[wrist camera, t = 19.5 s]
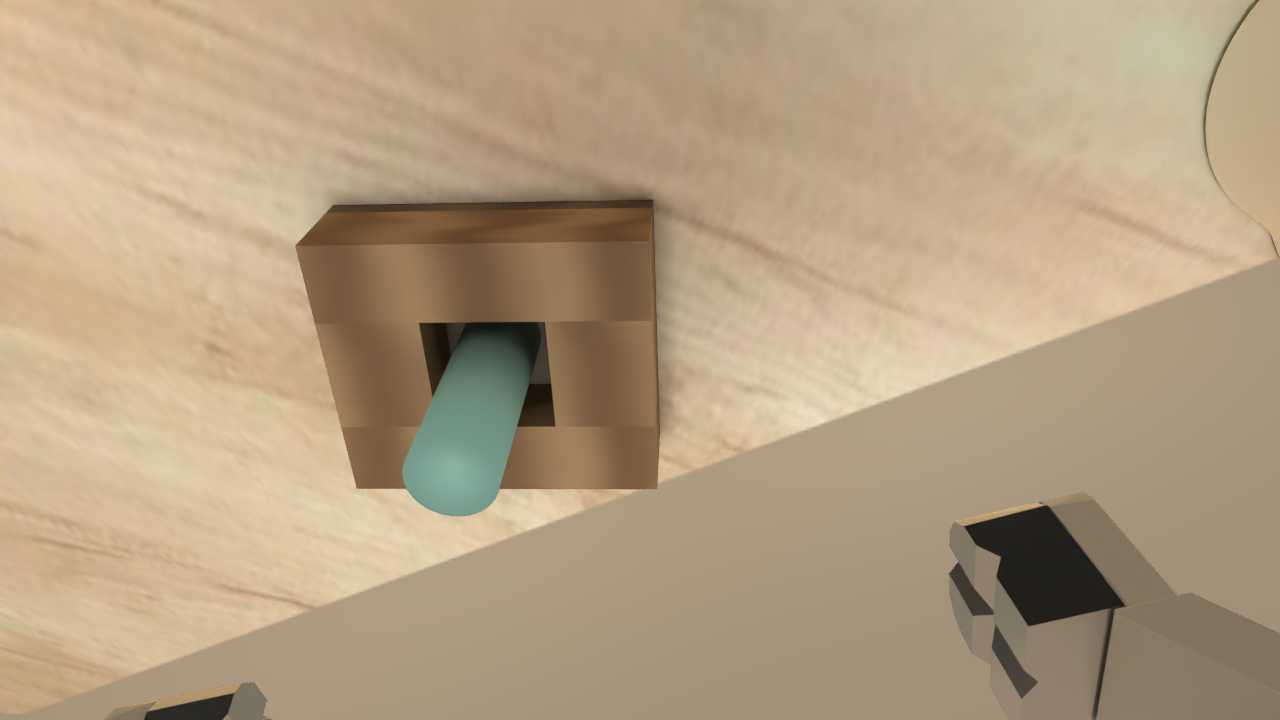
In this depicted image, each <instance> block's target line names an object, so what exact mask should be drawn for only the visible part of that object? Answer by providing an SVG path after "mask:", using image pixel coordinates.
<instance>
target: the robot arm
mask: <svg viewBox="0 0 1280 720" xmlns="http://www.w3.org/2000/svg"><path fill="white" fill-rule="evenodd" d="M1205 133H1206V145H1207V152H1208V157H1209V161H1210V164H1211V167H1212V170H1213V173H1214V175H1215V177H1216V179H1217V181H1218V183H1219V185H1220V186H1221V188H1222V190H1223V191H1224V192H1225V194H1226V195H1227V196H1228V198H1229V199H1230V200H1231V201H1232V202H1233V203H1234V204H1235V205H1236V206H1237V207H1238V208H1239V209H1241V210H1242V211H1243V212H1244V213H1246V214H1247V215H1249V216H1250V217H1251V218H1253V219H1254V220H1255V221H1257V222H1258V223H1260V224H1261V225H1262V226H1263V227H1264V228H1265V229H1266V230H1267V231H1268V232H1269V233H1270V234H1271V236H1272V239H1273V242H1274V244H1275V247H1276V250H1277V252H1278V255H1279V257H1280V0H1259V1H1258V3H1257V4H1256V5H1255V6H1254V8H1253V9H1252V10H1251V11H1250V13H1249V14H1248V16H1247V17H1246V18H1245V20H1244V21H1243V23H1242V24H1241V26H1240V27H1239V29H1238V31H1237V32H1236V34H1235V35H1234V37H1233V39H1232V41H1231V42H1230V44H1229V46H1228V48H1227V50H1226V52H1225V54H1224V56H1223V58H1222V60H1221V63H1220V65H1219V68H1218V70H1217V73H1216V75H1215V79H1214V82H1213V85H1212V88H1211V92H1210V96H1209V101H1208V107H1207V114H1206V132H1205ZM949 546H950V548H951V550H952V552H953V553H954V555H955V557H956V558H957V560H958V563H957V564H956V565H955V567H954V568H953V569H952V570H951V572H950V573H949V594H950V599H951V603H952V607H953V611H954V616H955V619H956V621H957V624H958V626H959V629H960V631H961V634H962V636H963V638H964V640H965V641H966V643H967V645H968V647H969V649H970V651H971V653H972V654H974V655H975V656H977V657H979V658H981V659H982V660H984V661H986V662H988V663H989V664H991V672H990V687H991V689H992V691H993V692H994V694H995V696H996V698H997V700H998V701H999V703H1000V705H1001V707H1002V709H1003V710H1004V712H1005V714H1006V715H1007V717H1008V719H1009V720H1280V633H1279V632H1276V631H1274V630H1272V629H1270V628H1268V627H1265V626H1263V625H1261V624H1259V623H1257V622H1255V621H1252V620H1250V619H1248V618H1245V617H1244V616H1241V615H1239V614H1237V613H1235V612H1232V611H1230V610H1228V609H1226V608H1224V607H1222V606H1219V605H1217V604H1215V603H1213V602H1211V601H1208V600H1206V599H1204V598H1202V597H1200V596H1197V595H1195V594H1193V593H1187V594H1181V595H1177V594H1176V593H1175V592H1174V591H1173V589H1172V588H1171V587H1170V586H1169V585H1168V584H1167V582H1166V581H1165V580H1164V579H1163V578H1162V577H1161V576H1160V574H1159V573H1158V572H1157V571H1156V570H1155V569H1154V567H1153V566H1152V565H1151V564H1150V563H1149V562H1148V561H1147V560H1146V558H1145V557H1144V556H1143V555H1142V554H1141V552H1140V551H1139V550H1138V549H1137V548H1136V547H1135V546H1134V544H1133V543H1132V542H1131V541H1130V540H1129V539H1128V537H1127V536H1126V535H1125V534H1124V533H1123V532H1122V531H1121V529H1120V528H1119V527H1118V526H1117V525H1116V524H1115V523H1114V522H1113V520H1112V519H1111V518H1110V517H1109V516H1108V514H1107V513H1106V512H1105V511H1104V510H1103V509H1102V508H1101V506H1100V505H1099V504H1098V503H1097V502H1096V501H1095V499H1094V498H1093V497H1092V496H1090V495H1088V494H1086V493H1084V492H1079V493H1075V494H1070V495H1066V496H1062V497H1058V498H1053V499H1049V500H1044V501H1040V502H1038V503H1030V504H1026V505H1022V506H1017V507H1013V508H1009V509H1005V510H1000V511H996V512H992V513H988V514H984V515H979V516H975V517H972V518H967V519H962V520H959V521H954V522H953V524H952V527H951V529H950V542H949ZM266 702H267V699H266V698H265V696H264V695H263V694H262V692H261V691H260V690H259V688H258V687H257V686H256V684H255V683H254V682H246V683H238V684H233V685H228V686H223V687H218V688H213V689H208V690H203V691H198V692H193V693H188V694H183V695H178V696H173V697H168V698H163V699H159V700H156V701H152V702H147V703H141V704H136V705H131V706H126V707H122V708H116V709H114V710H113V711H112V712H111V713H110V714H109V715H108V716H107V717H106V718H105V719H104V720H272V719H270V718H268V717H265V716H263V714H264V710H265V706H266Z"/></svg>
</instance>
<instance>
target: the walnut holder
mask: <svg viewBox="0 0 1280 720" xmlns="http://www.w3.org/2000/svg"><path fill="white" fill-rule="evenodd" d="M296 250H297V254H298V258H299V262H300V266H301V270H302V274H303V278H304V282H305V286H306V290H307V294H308V298H309V302H310V306H311V309H312V313H313V317H314V321H315V325H316V329H317V333H318V337H319V341H320V345H321V349H322V353H323V357H324V361H325V365H326V369H327V373H328V376H329V380H330V384H331V388H332V392H333V396H334V400H335V404H336V408H337V412H338V416H339V420H340V424H341V428H342V432H343V436H344V440H345V443H346V447H347V451H348V455H349V459H350V463H351V467H352V471H353V475H354V479H355V483H356V487H357V489H407V488H406V486H405V484H404V480H403V475H402V469H403V464H404V461H405V459H406V457H407V454H408V452H409V450H410V448H411V445H412V443H413V441H414V439H415V437H416V434H417V432H418V430H419V428H420V425H421V423H422V421H423V419H424V416H425V414H426V412H427V410H428V407H429V405H430V403H431V401H432V398H433V396H434V394H435V392H436V389H437V387H438V385H439V383H440V380H441V378H442V376H443V374H444V371H445V369H446V367H447V365H448V362H449V360H450V358H451V356H452V354H453V351H454V349H455V347H456V345H457V342H458V340H459V338H460V336H461V333H462V331H463V329H464V327H465V324H466V322H537V324H538V326H539V328H540V332H541V344H540V347H539V351H538V354H537V358H536V361H535V365H534V368H533V372H532V375H531V379H530V382H529V386H528V389H527V393H526V396H525V400H524V403H523V407H522V410H521V414H520V417H519V421H518V424H517V428H516V431H515V435H514V439H513V442H512V446H511V449H510V453H509V456H508V460H507V463H506V467H505V470H504V474H503V477H502V481H501V484H500V488H499V489H657V481H658V460H659V438H660V425H659V390H658V356H657V321H656V287H655V252H654V218H653V200H628V201H567V202H507V203H446V204H386V205H333V206H332V207H331V208H330V209H329V210H328V211H327V213H326V214H325V215H324V216H323V217H322V218H321V219H320V220H319V221H318V222H317V223H316V224H315V225H314V226H313V228H312V229H311V230H310V231H309V232H308V233H307V234H306V235H305V236H304V237H303V238H302V239H301V240H300V242H299V243H298V244H297V245H296Z"/></svg>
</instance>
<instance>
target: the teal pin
mask: <svg viewBox="0 0 1280 720" xmlns="http://www.w3.org/2000/svg"><path fill="white" fill-rule="evenodd" d="M540 344H541V332H540V328H539V326H538V324H537V322H466V324H465V327H464V329H463V331H462V333H461V336H460V338H459V340H458V342H457V345H456V347H455V349H454V351H453V354H452V356H451V358H450V360H449V362H448V365H447V367H446V369H445V371H444V374H443V376H442V378H441V380H440V383H439V385H438V387H437V389H436V392H435V394H434V396H433V398H432V401H431V403H430V405H429V407H428V410H427V412H426V414H425V416H424V419H423V421H422V423H421V425H420V428H419V430H418V432H417V434H416V437H415V439H414V441H413V443H412V445H411V448H410V450H409V452H408V454H407V457H406V459H405V461H404V464H403V469H402V475H403V480H404V484H405V486H406V488H407V490H408V491H409V493H410V494H411V495H412V497H413V498H414V499H415V500H416V501H417V502H419V503H420V504H421V505H423V506H424V507H426V508H428V509H430V510H432V511H434V512H437V513H439V514H443V515H448V516H468V515H472V514H476V513H478V512H481V511H482V510H484V509H486V508H487V507H488V506H490V505H491V503H492V502H493V501H494V500H495V498H496V496H497V494H498V491H499V488H500V484H501V481H502V477H503V474H504V470H505V467H506V463H507V460H508V456H509V453H510V449H511V446H512V442H513V439H514V435H515V431H516V428H517V424H518V421H519V417H520V414H521V410H522V407H523V403H524V400H525V396H526V393H527V389H528V386H529V382H530V379H531V375H532V372H533V368H534V365H535V361H536V358H537V354H538V351H539V347H540Z"/></svg>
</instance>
